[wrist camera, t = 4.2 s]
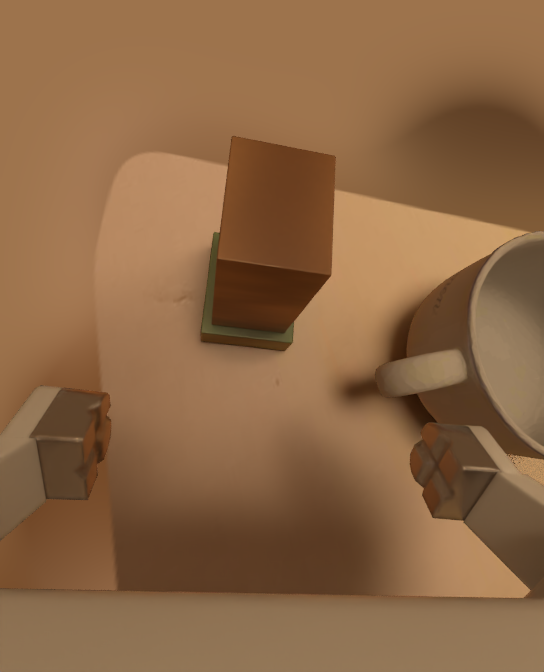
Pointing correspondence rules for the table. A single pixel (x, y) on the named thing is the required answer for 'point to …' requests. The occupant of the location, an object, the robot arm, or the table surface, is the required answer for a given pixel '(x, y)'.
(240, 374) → the table surface
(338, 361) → the table surface
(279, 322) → the brown block green base
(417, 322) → the teacup
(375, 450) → the table surface
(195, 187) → the table surface
